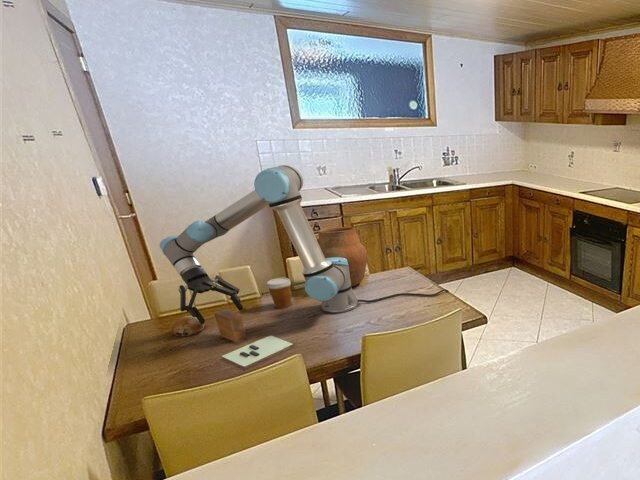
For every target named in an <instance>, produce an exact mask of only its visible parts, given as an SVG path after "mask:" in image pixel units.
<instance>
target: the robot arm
mask: <svg viewBox="0 0 640 480" xmlns="http://www.w3.org/2000/svg"><path fill="white" fill-rule="evenodd" d="M253 186H254V187H253V188H254V189H253V190H252V191H251V192H249V193H247V194H246V195H244V196H243V197H241V198H240V199H238V200H237V201H235V202H233V203H232V204H231V205H229V206H227V207H226V208H224V209H223V210H221V211H219V212H218V213H216V214H215V215H213V216H211V217H210V218H209V219H207V220H204V221H203V220H195V221H193V222H192V223H191V224H189V225H188V226H187V227H186V228H185V229H184V230H183V231H182V232H181V233H180V234H179V235H170V236H167V237H165V238H163V239H162V240H161V241H160V242H159V248H160V250H161V251H162V253H163V255H164V256H165V257H166V259H167V260H168V261H169V263H171V265H172V267H173V268H174V269H175V271H176V272H177V274H178V275H179V276H180V279H182V281H183V282H184V283H185V285H182V284H180V285H179V287H178V292H179V295H180V296H179V297H180V300H179V301H180V304H179V305H180V306H179V310H180V312H184V311H186V312H187V313H189V314H190V316H192V317H196V318H197V319H198V320H199V322H200V323H201V325H202V324H204V325H205V322H206V319H205V318H204V316H203V315H202V313H201V312H200V311H199V310H198V308H197V307H196V306H193V305H194V303H195V300H196V297H197V294H203V293H206V292H207V293H208V292H210V291H212V292H216V293H220V294H223V295H226V296H229V297H230V300H231V302H232V303H233V304H234V306H235V308H237V310H238V312H241V311H242V310H243V309H244V306H243V304H241V298H240V296H239V295H238V294H239V292H240V290H241V289H240V288H238V287H236V285H235V286H234V285H233V284H231V283H230V282H228V281H226V280H224V279H223V278H222V277H221V276H220V275H216V276H215V277H212V278H211V277H210V276H209V275H208V273H207V272H206V270H205V269H204V267H202V265H201V263H200V262H199V261H198V260H197V258H196V256H195V255H194V253H195V252H197V251H198V249H199V248H200V247H202V246H203V245H204V244H206V243H209V242H211V241H213V240H215V239H217V238H219V237H223V236H224V235H226V234H227V233H229V231H231V230H233V229H234V228H235V227H237V226H238V225H240V224H241V223H243V222H245V221H247V220H248V219H249V218H251V217H253V216H254V215H255V214H257V213H259V212H260V211H263V210H264V209H265V208H267V207H269V209H271V210H273V211H275V212H276V213H277V215H278V217H279V219H280V221H281V223H282V225H283V227H284V229H285V231H286V234H287V236H288V237H289V239H290V241H291V244H292V245H293V248H294V250H295V252H296V254H297V255H298V258H299V260H300V262H301V264H302V266H303V270H302V272H301V273H302V276H303V278H304V280H305V283H304V291H305V293H306V294H307V296H308V297H309V298H310V299H313V300H315V301H319V302H321V310H322V311H323V312H324V313H327V314H341V313H347V312H350V311H353V310H354V309H356V308H357V307H358V306H359V303H374V302H379V301H382V300H385V299H390V298H394V297H398V296H421V297H435V296H437V295H439V294H441V293H443V292H447V293H449V292H450V290H448V289H445V288H444V289H441V290H439V291H437V292H436V293H435V292H434V293H430V294H427V293H416V292H415V293H413V292H402V293H401V292H400V293H395V294H391V295H387V296H382V297H379V298H375V299H370V300H369V299H368V300H367V299H358V297H357V295H356V294H355V292H354V290H353V288H352V287H353V286H351V280H350V273H349V264H348V261H347V259H346V258H342V257H332V258H325V257H324V255H323V252H322V250H321V248H320V246H319V244H318V242H317V240H318V239H317V237H316V235H315V233H314V231H313V228H312V227H311V225H310V222H309V220H308V218H307V216H306V213H305V211H304V209H303V207H302V204H301V202H302V200H303V197H302V195H301V192H300V191H301V190H302V188H303V186H304V177H303V176H302V174H301V172H300V171H299V170H298V169H297V168H295V167H294V166H291V165H287V164H282V165H278V166H274V167H269V168H266V169H264V170H262V171H260V172H259V173H258V174H256V176H255V178H254V181H253ZM188 290H189V291H192V294H191V297H190V300H189V302H188V304H187V303H186V302H187V300H186V299H187V297H186V296H187V291H188ZM444 290H445V291H444ZM186 304H187V305H186Z"/></svg>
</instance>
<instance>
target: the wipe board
mask: <svg viewBox="0 0 640 480" xmlns="http://www.w3.org/2000/svg"><path fill="white" fill-rule="evenodd" d="M251 345H254V346H256V347H259V349H257V350H254V349H252V348H249V346H251ZM292 345H293V342H289V341H286V340H284V339H281V338H279V337H276V336H274V335H271V334H270V335H268V336H266V337H262V338H261V339H258V340H256V341H253V342H252V343H249V344H246V345H245V346H242V347H240V348H237V349H234V350H233V351H230V352H227V353H226V354H223V355H221V357H222V358H224V359H226V360H228V361H231V362H233V363H235V364H237V365H240V366H242V367H247V366H249V365H251V364H253V363H255V362H258V361H260V360H262V359H264V358H267V357H268V356H271V355H273V354H276V353H277V352H280V351H281V350H284V349H286V348H288V347H290V346H292ZM251 351H254V352H257V353H259V355H258V356H254V355H252V354H250V353H249V352H251ZM241 352H245V353H247V354H249V355H250V356H248V357H245V356H242V355H240V353H241Z"/></svg>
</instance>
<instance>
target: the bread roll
mask: <svg viewBox="0 0 640 480" xmlns="http://www.w3.org/2000/svg"><path fill="white" fill-rule="evenodd" d="M205 326H206V325H205V323H204V324H202V325H201V323H200V322H199V320H198V319H197V318H196V317H192V315H185V316H182V317H180V318H179V319H177V320H176V321H175V323H174V324H173V325H172V334H173V335H174V336H176V337H177V336H178V337H188V336H193V335H196V334H198V333H199V332H201V331H203V330H204V329H205Z"/></svg>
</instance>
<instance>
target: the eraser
mask: <svg viewBox="0 0 640 480" xmlns="http://www.w3.org/2000/svg"><path fill="white" fill-rule="evenodd" d="M214 317H215V320H216V321H215V322H216V325H217V329H218V331H219V335H220V337H222V338H226V339H228V340H231V341H232V342H235V343H237V342H239V341H241V340H244V339H246V338H247V335H246V331H245V327H244V323H243V319H242V315H241V314H240V313H237V312H235V311H233V310H229V309H226V308H224V309H221V310H218V311H215V312H214Z"/></svg>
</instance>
